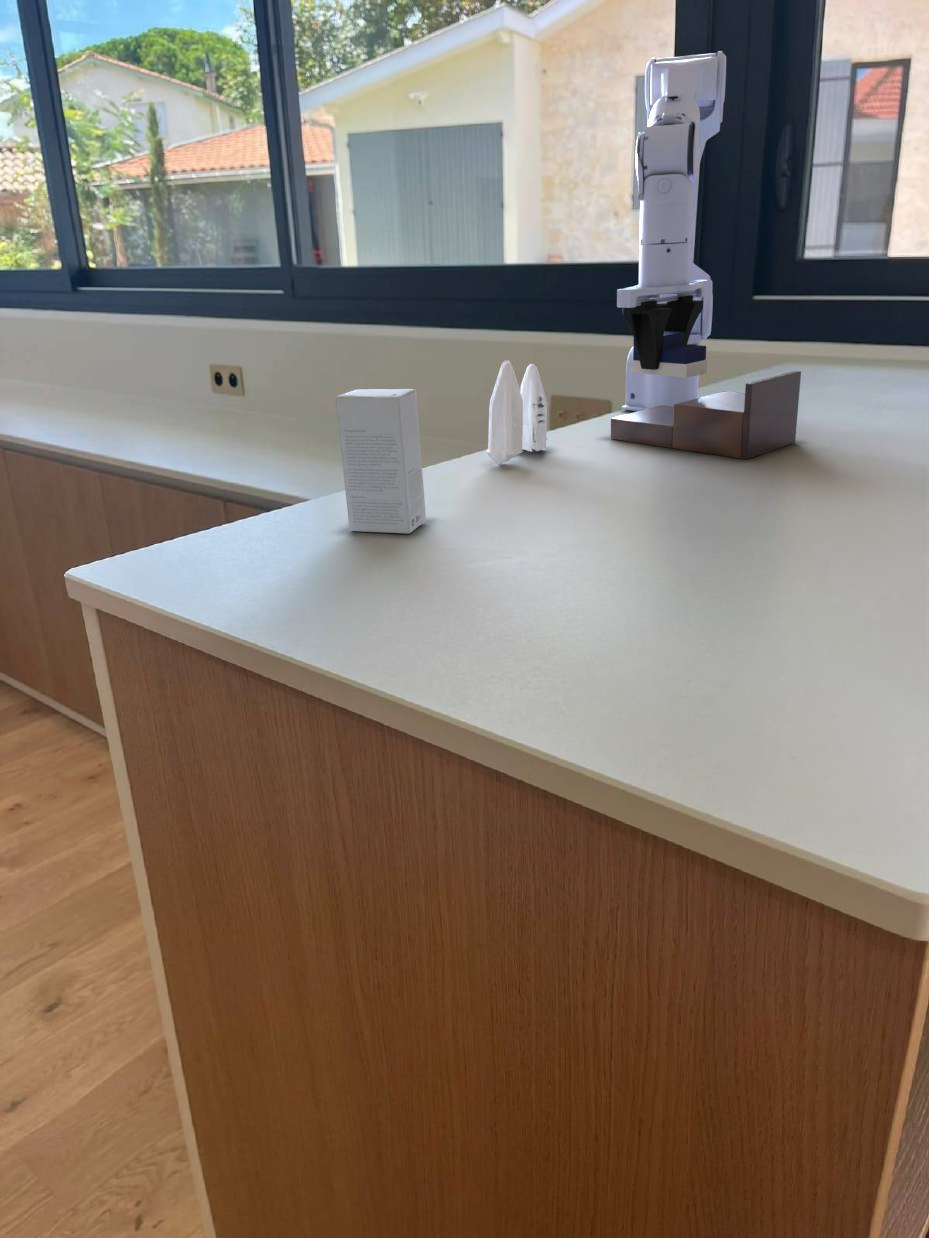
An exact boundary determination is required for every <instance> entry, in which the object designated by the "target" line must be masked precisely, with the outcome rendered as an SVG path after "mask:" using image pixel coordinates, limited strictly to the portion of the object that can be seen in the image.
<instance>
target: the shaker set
mask: <svg viewBox="0 0 929 1238" xmlns="http://www.w3.org/2000/svg"><path fill="white" fill-rule="evenodd" d="M521 381H522V382H521V384H520V386H519V382H518V379H517V376H516V373H515V370H514V366H513V365H512V363H511V361H510V360H504V361H502V363H501V366H500V368H499V372H498V374H497V378H496V380H495V384H494V386H493V390H492V394H491V397H490V400H489V404H488V405H489V407H488V409H489V410H488V434H487V435H488V441H487V443H488V444H487V450H486V455H487V456H488V457H489V458H490V459H491V460H492V461H493V462H494V463H495V464H496V465H497V466H501V465H502V464H504V463H506V462H508V461H509V460H511V459H513V458H515V457H517V456H519V455H520V454H522V453H523V452H524V450H525V451H527V452H534V451H535V452H540V451H547V440H548V438H547V433H548V400H547V397H546V393H545V388H544V385H543V382H542V378H541V375H540V372H539V370H538V368H537V366H536V364H535V363H529V364H528V365H527V367H526V369H525V372H524V375H523V378H522V380H521Z"/></svg>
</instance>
